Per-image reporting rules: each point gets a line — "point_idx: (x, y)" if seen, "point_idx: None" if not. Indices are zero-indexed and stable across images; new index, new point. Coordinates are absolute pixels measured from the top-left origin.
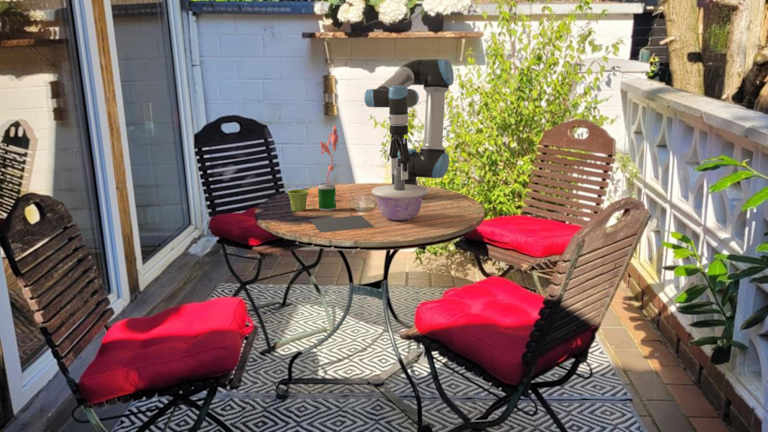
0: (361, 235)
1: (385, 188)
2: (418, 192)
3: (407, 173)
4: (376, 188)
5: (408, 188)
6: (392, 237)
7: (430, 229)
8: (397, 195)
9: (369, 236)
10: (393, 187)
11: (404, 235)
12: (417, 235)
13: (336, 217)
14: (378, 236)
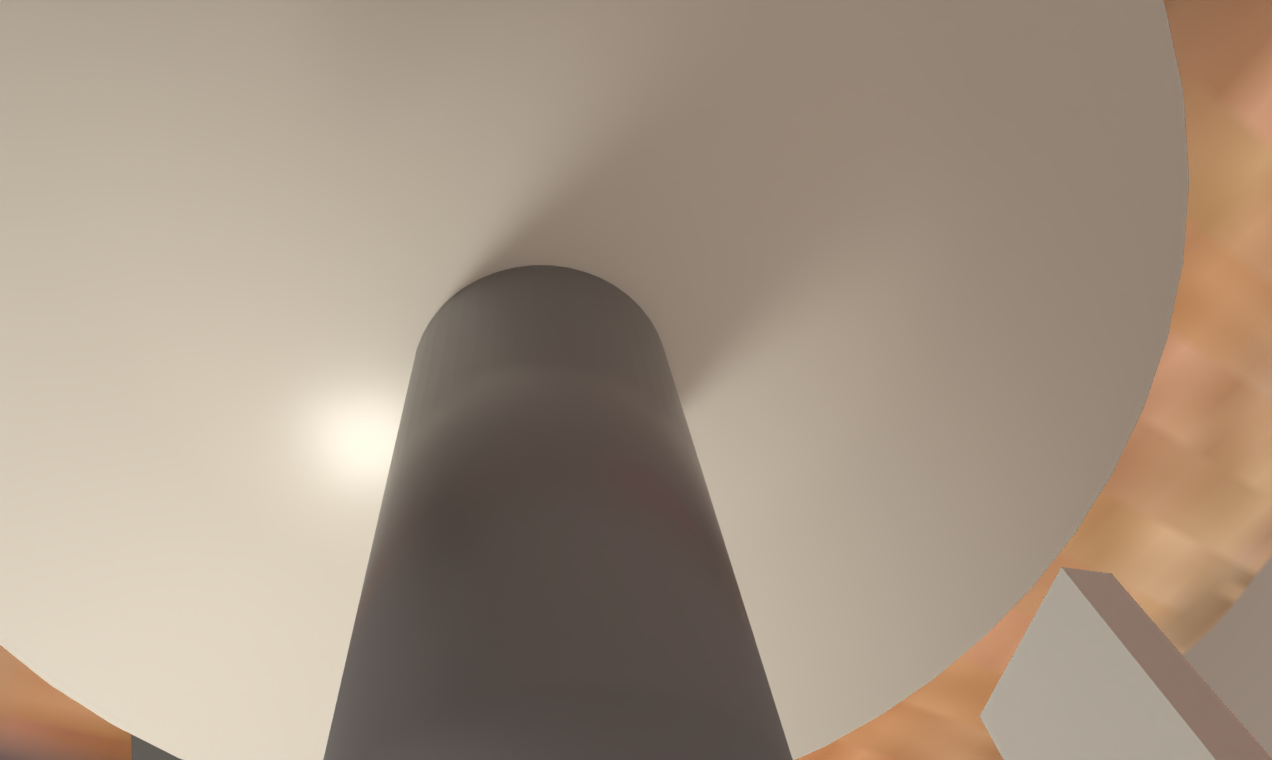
0: (875, 742)
1: (264, 572)
2: (1102, 189)
3: (1225, 732)
4: (179, 700)
5: (540, 142)
6: (1118, 577)
7: (1202, 114)
8: (989, 629)
9: (948, 706)
10: (223, 391)
11: (1153, 468)
12: (1255, 368)
13: (141, 754)
14: (1002, 653)
